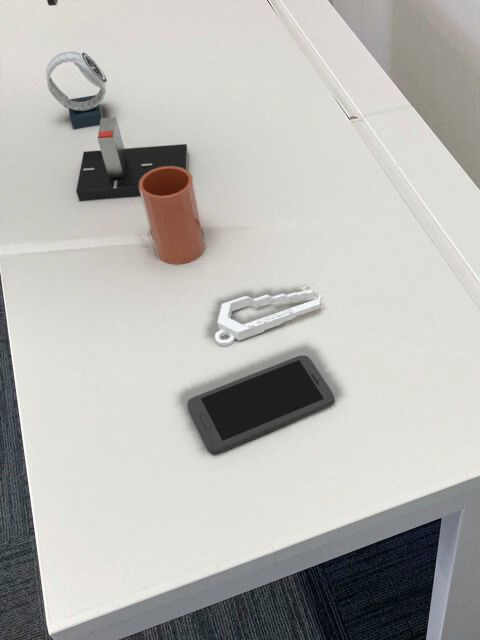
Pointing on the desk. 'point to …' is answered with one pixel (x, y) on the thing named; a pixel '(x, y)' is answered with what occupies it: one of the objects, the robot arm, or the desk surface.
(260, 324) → the white stepped wedge frame
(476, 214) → the desk surface
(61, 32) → the desk surface
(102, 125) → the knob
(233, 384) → the cell phone
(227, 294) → the desk surface
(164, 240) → the tumbler
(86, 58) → the watch
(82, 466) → the desk surface
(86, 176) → the hob panel
